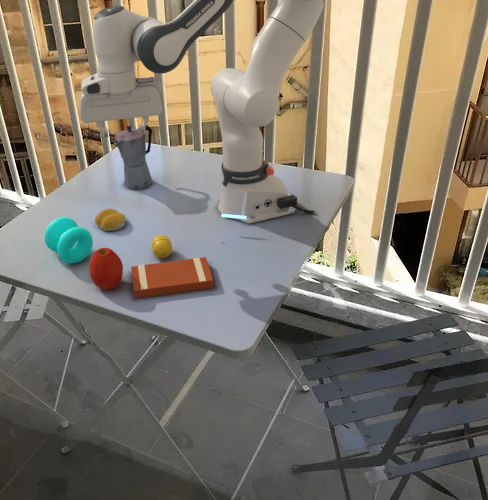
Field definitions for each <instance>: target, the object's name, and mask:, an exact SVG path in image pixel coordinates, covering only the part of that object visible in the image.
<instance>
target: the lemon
mask: <svg viewBox="0 0 488 500" xmlns="http://www.w3.org/2000/svg"><path fill="white" fill-rule="evenodd" d="M151 250H152V253H153V255H154V256H155V257H157V258H159V259H165V258H166V259H167V258H168V257H169V256H170V255H171V254H172V252H173V245H172V241H171V238H169V236H167V235H165V234H157V235H156V236H154V238H152V241H151Z"/></svg>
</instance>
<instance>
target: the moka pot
mask: <svg viewBox="0 0 488 500" xmlns="http://www.w3.org/2000/svg"><path fill="white" fill-rule="evenodd" d="M145 130H146V131H148V135H147V137H146V133H143V134H140V130H139V127H138V128H132V126H131V125H127V126H126V129H124V130H121V131H119V132H118V133H117V134H115V136H114V138H115V140H114V142H113V144H114V145H115V146H116V148H118V151H119V155H120V157H121V159H122V163H123V174H124V175H123V176H124V186H125V187H126V188H128V189H130V190H142V189H145V188H147V187H148V186H150V185H151V184H152V179H153V178H152V175H151V172H150V168H149V166H148V163H147V159H146V155H147V154H149V153H151V149H152V148H151V145H152V137H153V136H152V135H153V128H151V127H150V126H149V125H148V124H147V125H146V127H145ZM146 138H148V139H147V140H148V141H147V140H146ZM146 141H147V142H146ZM146 144H147V146H146Z"/></svg>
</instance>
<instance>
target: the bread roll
mask: <svg viewBox="0 0 488 500" xmlns="http://www.w3.org/2000/svg"><path fill="white" fill-rule="evenodd" d="M126 219H127V218H126V216H125V214H124V213H122V212H119V211H118V210H117V209H115V208H105V209H102V210H101V211H99V212H98V213H97V214H96V215H95V218H94V222H95V224H96V226H97V227H98V228H100V229H101V230H103V231H105V232H113V231H117V230H120V229H122V228H123V227H124V226H125V224H126V221H127V220H126Z"/></svg>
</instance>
